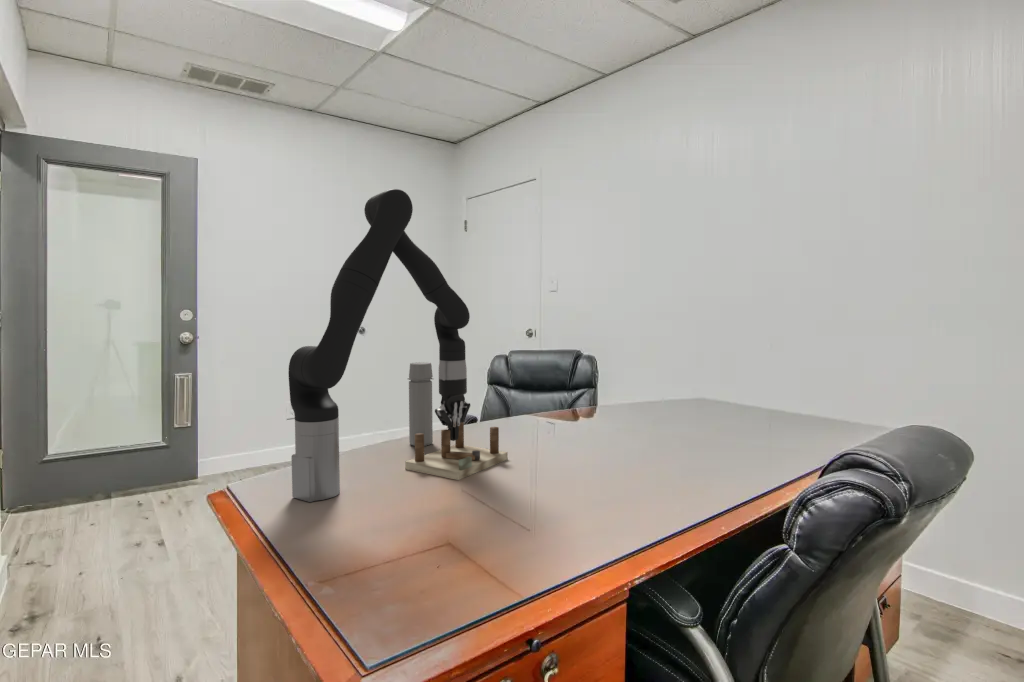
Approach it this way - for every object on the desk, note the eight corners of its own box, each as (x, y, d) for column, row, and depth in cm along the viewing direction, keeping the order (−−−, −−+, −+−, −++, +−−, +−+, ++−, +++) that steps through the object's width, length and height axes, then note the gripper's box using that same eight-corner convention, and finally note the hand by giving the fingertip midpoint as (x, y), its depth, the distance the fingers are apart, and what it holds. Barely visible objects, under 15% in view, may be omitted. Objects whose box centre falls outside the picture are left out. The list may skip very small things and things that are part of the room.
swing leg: (481, 457, 146) (481, 431, 145) (478, 460, 143) (478, 433, 143) (443, 455, 148) (443, 429, 148) (440, 457, 146) (439, 431, 146)
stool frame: (458, 480, 134) (458, 443, 134) (405, 469, 143) (405, 434, 143) (507, 459, 153) (507, 427, 152) (457, 450, 162) (457, 420, 161)
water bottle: (431, 447, 166) (431, 364, 165) (405, 447, 166) (404, 364, 165) (436, 440, 175) (435, 361, 174) (412, 439, 175) (411, 361, 174)
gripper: (457, 373, 157) (457, 433, 158) (425, 378, 145) (426, 443, 147) (478, 374, 152) (479, 436, 154) (447, 380, 141) (448, 447, 142)
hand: (453, 439), depth 150 cm, fingers closed
